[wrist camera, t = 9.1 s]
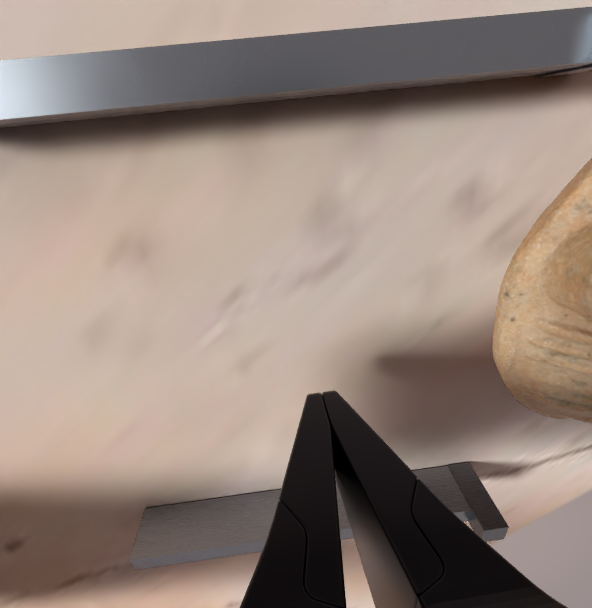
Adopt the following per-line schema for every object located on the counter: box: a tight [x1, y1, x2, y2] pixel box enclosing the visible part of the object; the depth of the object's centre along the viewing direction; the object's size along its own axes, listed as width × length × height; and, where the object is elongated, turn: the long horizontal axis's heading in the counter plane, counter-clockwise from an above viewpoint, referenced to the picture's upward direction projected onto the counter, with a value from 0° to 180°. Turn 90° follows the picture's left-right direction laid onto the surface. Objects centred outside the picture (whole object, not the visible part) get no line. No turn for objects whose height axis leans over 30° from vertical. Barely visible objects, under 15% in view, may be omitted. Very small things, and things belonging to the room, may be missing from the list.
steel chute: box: [0, 7, 592, 570], centre depth 10 cm, size 15×17×3 cm
